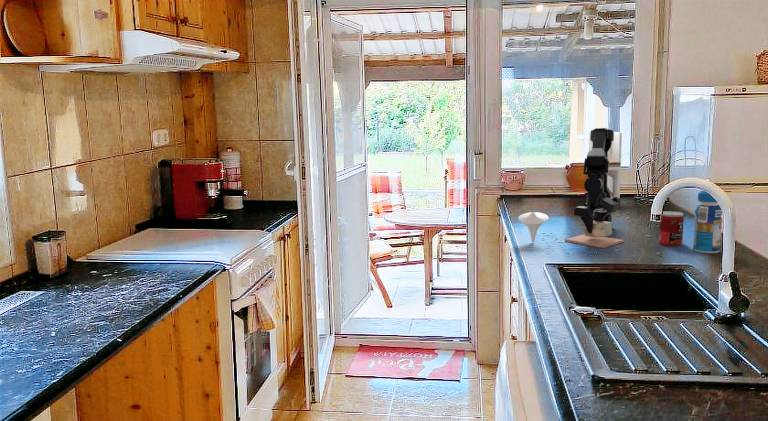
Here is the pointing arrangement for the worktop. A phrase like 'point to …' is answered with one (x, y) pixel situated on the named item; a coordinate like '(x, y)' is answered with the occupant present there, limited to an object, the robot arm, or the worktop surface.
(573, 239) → the terracotta tile
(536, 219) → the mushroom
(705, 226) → the beverage bottle
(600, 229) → the beech block
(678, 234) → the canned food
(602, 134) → the robot arm
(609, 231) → the sage block
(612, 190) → the tall white pillar
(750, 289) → the worktop surface
